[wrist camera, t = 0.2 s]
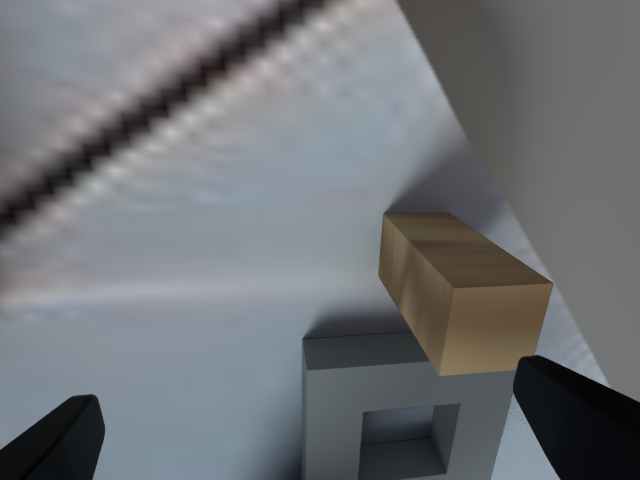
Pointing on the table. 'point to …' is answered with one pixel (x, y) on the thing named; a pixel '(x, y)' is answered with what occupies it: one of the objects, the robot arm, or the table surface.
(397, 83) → the table surface
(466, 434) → the socket block
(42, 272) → the table surface
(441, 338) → the peg
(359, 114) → the table surface
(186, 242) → the table surface
